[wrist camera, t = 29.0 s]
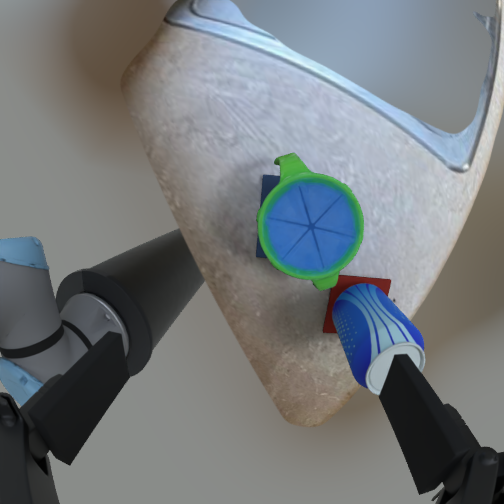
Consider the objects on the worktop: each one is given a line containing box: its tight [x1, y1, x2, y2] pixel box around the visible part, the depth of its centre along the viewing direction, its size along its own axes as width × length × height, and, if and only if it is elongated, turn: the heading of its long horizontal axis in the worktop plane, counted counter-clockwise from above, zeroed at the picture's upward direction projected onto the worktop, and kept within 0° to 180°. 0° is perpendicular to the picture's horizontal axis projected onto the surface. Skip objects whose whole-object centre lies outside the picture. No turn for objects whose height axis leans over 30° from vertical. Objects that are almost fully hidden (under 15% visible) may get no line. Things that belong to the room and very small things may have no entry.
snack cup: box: [256, 153, 364, 291], centre depth 31 cm, size 16×10×10 cm
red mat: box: [323, 275, 391, 333], centre depth 38 cm, size 9×9×1 cm
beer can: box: [332, 283, 425, 395], centre depth 30 cm, size 8×8×16 cm
